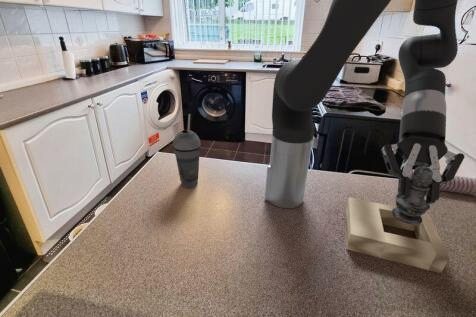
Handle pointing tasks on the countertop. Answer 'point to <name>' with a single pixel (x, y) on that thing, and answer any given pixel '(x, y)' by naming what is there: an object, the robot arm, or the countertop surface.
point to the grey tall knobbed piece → (414, 197)
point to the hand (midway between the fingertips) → (417, 200)
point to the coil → (458, 185)
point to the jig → (393, 236)
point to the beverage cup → (187, 156)
